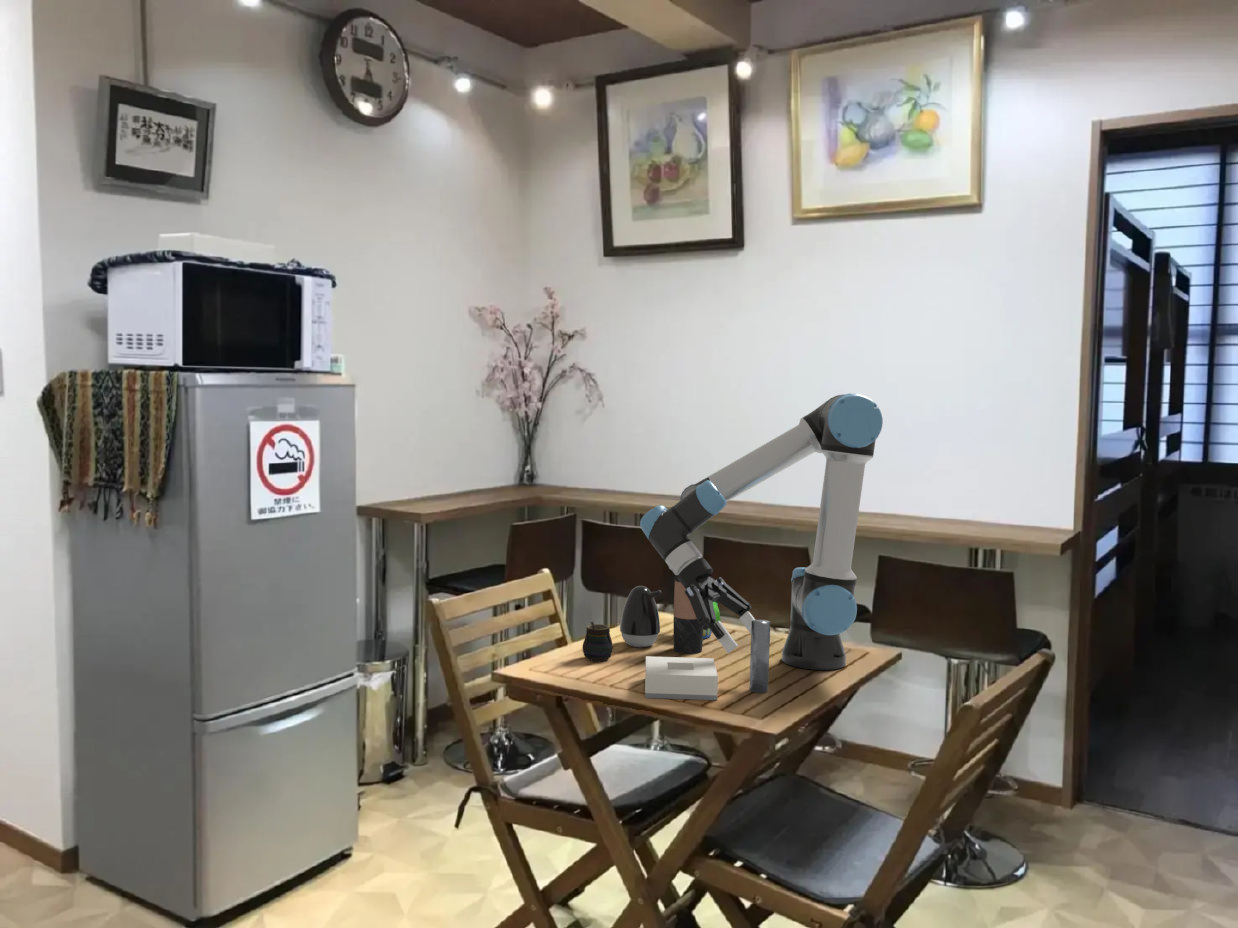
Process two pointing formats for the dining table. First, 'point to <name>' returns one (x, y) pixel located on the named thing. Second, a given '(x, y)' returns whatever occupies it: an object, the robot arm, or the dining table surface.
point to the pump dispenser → (640, 618)
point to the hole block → (681, 678)
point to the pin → (759, 656)
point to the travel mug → (685, 623)
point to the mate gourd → (597, 642)
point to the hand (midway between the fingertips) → (747, 643)
